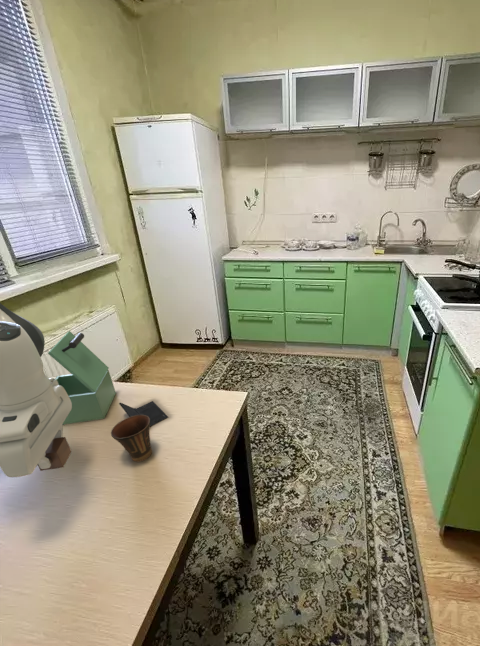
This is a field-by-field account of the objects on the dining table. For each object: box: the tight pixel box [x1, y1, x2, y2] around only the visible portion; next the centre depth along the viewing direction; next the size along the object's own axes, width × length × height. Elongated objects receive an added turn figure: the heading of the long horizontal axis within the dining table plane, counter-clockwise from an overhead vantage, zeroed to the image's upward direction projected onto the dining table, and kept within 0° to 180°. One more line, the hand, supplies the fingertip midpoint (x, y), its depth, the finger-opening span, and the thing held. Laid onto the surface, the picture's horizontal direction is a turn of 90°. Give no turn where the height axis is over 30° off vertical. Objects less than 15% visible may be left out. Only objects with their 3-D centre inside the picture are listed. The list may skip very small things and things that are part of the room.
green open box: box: [54, 369, 117, 426], centre depth 96 cm, size 15×13×10 cm
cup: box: [110, 415, 153, 463], centre depth 80 cm, size 9×9×10 cm
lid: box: [47, 330, 110, 393], centre depth 91 cm, size 15×13×5 cm
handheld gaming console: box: [118, 400, 169, 428], centre depth 93 cm, size 12×7×10 cm
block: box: [37, 436, 72, 472], centre depth 68 cm, size 4×4×4 cm
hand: (53, 455), depth 68 cm, fingers closed on block, 4 cm apart
